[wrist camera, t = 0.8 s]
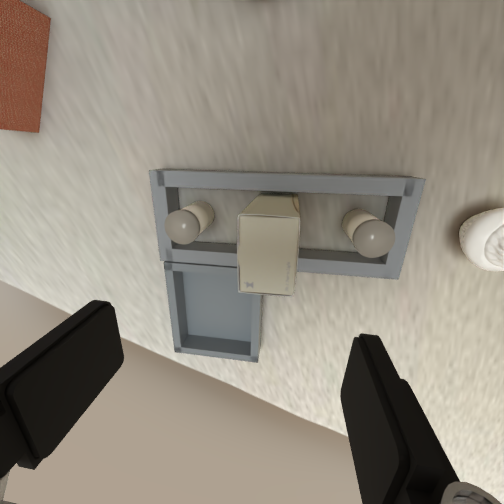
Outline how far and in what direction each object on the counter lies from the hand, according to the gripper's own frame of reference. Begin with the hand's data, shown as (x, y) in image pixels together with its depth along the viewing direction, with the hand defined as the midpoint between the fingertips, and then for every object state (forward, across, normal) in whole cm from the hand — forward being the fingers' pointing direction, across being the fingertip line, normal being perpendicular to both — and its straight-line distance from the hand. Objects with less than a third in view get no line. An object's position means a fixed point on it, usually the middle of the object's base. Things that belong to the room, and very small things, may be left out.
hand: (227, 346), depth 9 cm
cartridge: (+21, -10, 0) cm, 23 cm away
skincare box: (+21, -1, 0) cm, 21 cm away
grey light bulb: (+21, +8, 0) cm, 22 cm away
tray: (+21, +6, +12) cm, 25 cm away
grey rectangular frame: (+21, -1, 0) cm, 21 cm away
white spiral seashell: (+21, -22, -1) cm, 30 cm away
